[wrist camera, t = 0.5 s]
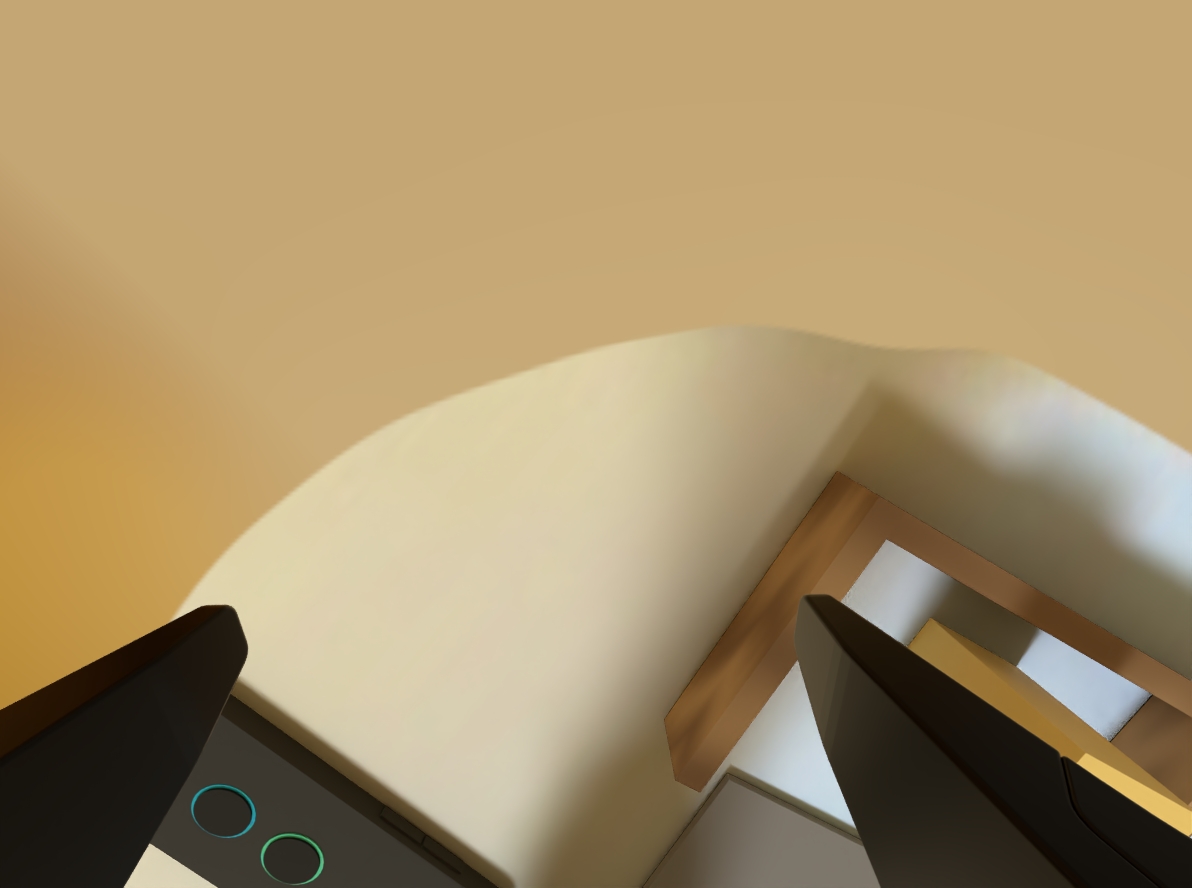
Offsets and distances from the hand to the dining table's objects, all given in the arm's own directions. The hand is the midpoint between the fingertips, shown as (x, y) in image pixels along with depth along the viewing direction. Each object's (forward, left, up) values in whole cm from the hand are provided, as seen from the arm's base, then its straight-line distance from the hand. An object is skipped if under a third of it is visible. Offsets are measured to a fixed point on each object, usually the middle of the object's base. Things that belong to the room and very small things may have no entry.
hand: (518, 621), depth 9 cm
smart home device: (-24, +1, -15) cm, 28 cm away
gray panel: (-15, -21, -14) cm, 30 cm away
